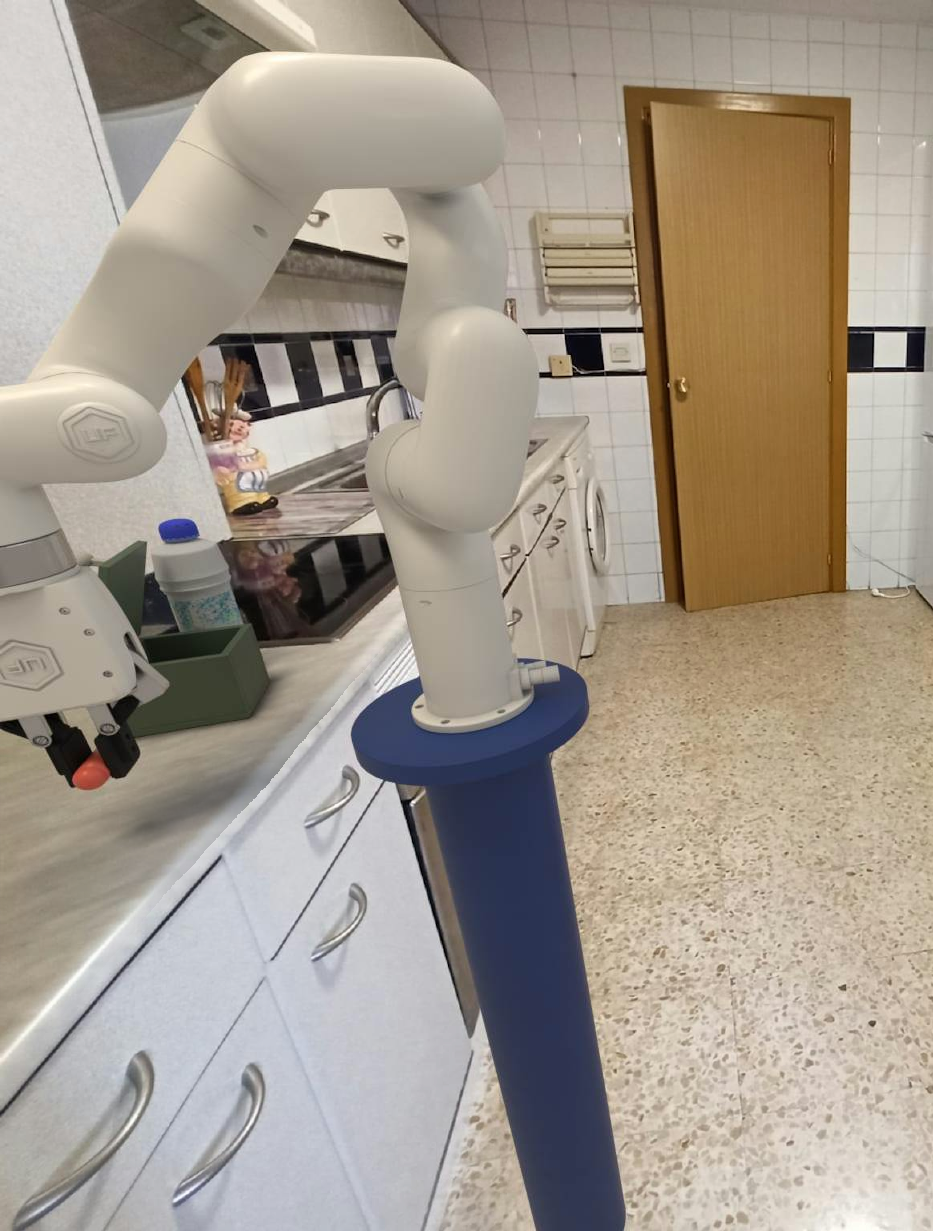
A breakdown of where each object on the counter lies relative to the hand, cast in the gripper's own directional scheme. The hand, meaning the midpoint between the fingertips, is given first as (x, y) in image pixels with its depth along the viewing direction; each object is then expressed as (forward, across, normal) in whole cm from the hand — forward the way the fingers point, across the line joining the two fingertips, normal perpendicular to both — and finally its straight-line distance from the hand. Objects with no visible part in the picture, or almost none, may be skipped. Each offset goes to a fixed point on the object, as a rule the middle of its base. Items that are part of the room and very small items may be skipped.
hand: (105, 772), depth 59 cm
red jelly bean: (0, 0, 0) cm, 0 cm away
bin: (+7, -2, +25) cm, 26 cm away
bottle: (+7, -2, +34) cm, 34 cm away
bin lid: (-7, -5, +25) cm, 26 cm away
